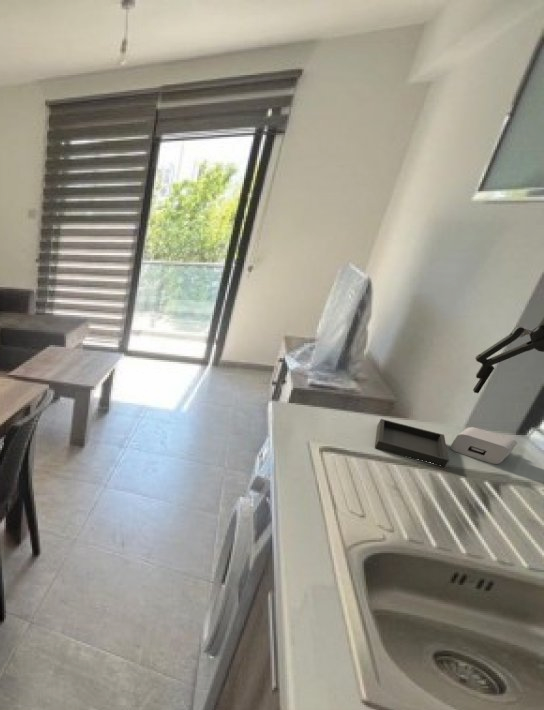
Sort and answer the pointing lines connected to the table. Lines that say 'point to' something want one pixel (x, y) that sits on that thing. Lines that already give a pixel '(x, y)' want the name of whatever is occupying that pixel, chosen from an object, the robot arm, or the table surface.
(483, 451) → the charger
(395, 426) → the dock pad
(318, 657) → the table surface
